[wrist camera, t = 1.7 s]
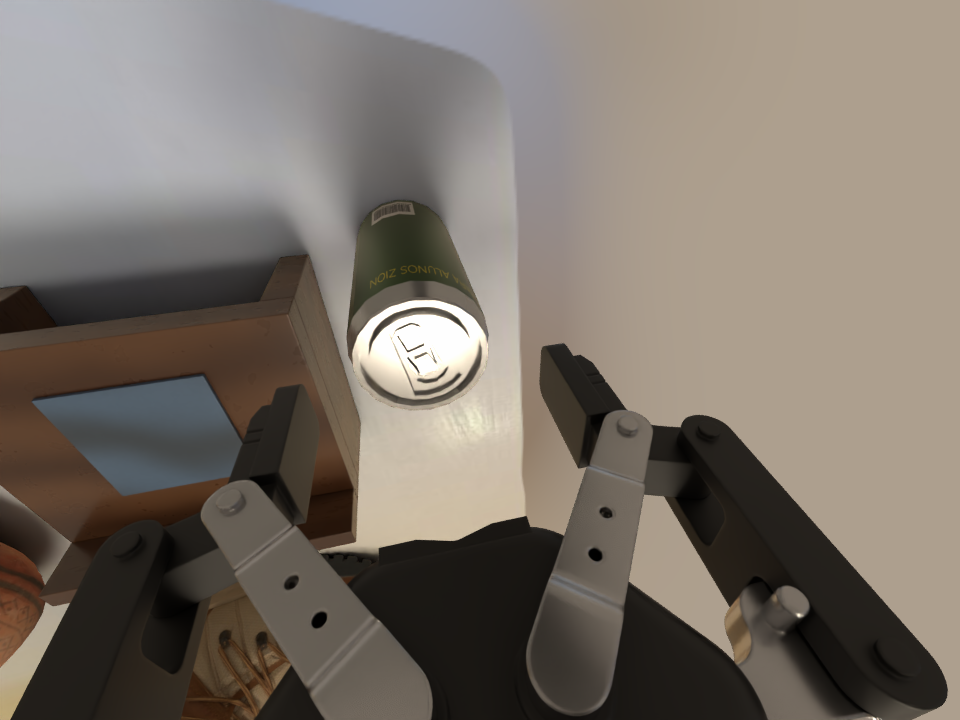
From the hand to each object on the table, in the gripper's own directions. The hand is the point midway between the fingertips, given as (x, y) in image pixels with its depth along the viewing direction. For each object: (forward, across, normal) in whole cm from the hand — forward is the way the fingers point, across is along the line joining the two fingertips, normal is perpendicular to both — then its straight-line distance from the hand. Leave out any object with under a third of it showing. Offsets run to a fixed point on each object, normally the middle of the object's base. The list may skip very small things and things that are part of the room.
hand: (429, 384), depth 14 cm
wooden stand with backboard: (+13, +14, +7) cm, 20 cm away
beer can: (+13, 0, 0) cm, 13 cm away
